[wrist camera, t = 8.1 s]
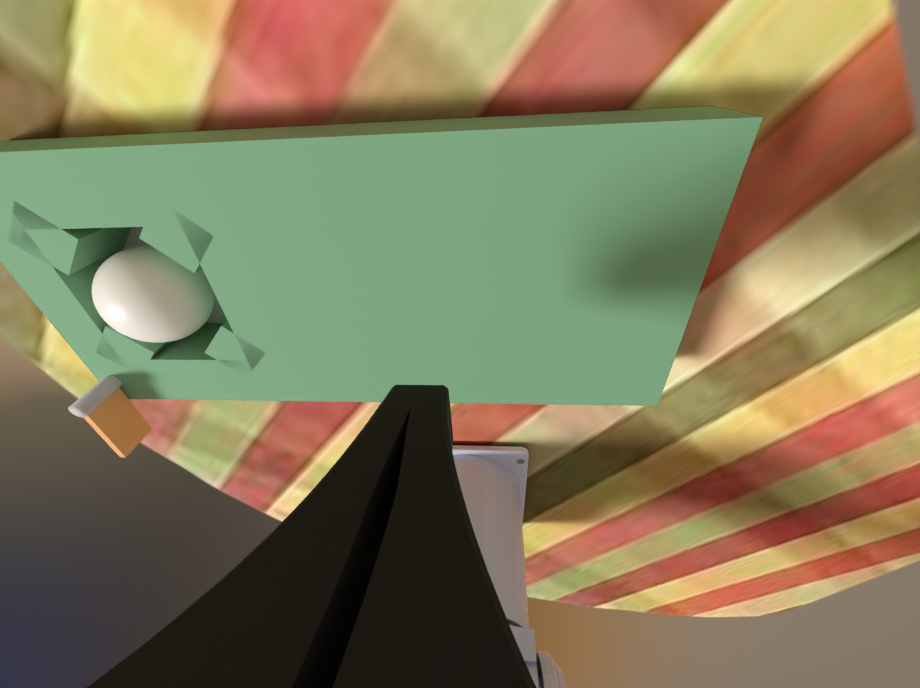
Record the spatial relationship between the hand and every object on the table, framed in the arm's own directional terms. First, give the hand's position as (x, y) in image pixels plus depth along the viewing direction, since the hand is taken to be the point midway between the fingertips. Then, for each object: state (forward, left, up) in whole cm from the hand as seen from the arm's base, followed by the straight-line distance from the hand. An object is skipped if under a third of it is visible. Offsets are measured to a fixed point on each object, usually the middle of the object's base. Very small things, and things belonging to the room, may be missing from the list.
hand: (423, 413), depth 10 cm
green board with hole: (-1, +4, -9) cm, 10 cm away
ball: (0, +12, -7) cm, 14 cm away
